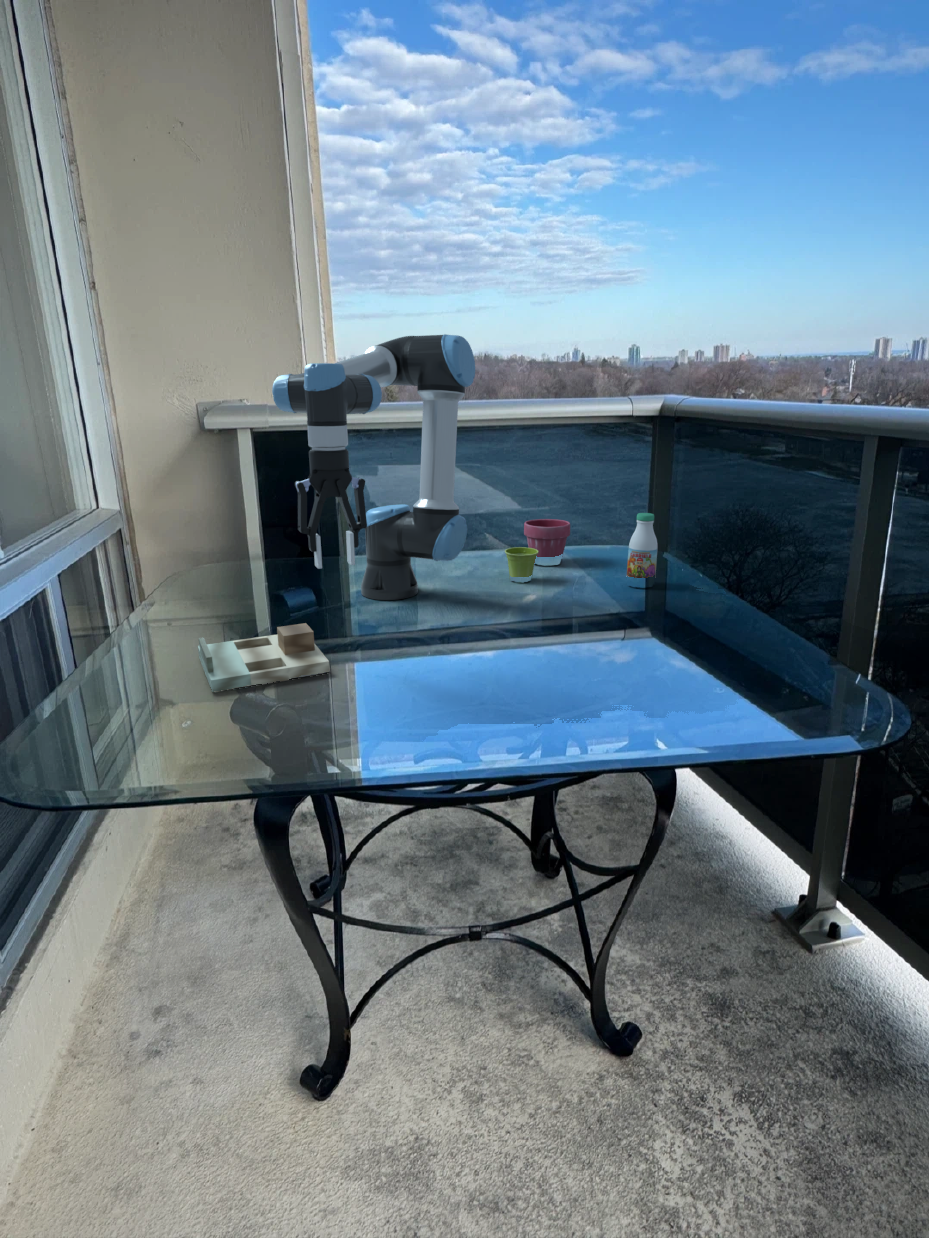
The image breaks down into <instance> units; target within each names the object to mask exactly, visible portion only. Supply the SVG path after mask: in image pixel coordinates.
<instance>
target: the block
mask: <svg viewBox="0 0 929 1238" xmlns="http://www.w3.org/2000/svg"><path fill="white" fill-rule="evenodd" d="M276 633H277V634H278V646H279V647H280V649H281V650H282V651H283V653H284V654H285V655H289V654H295V653H301V652H308V651H314V650H315V647H314V644H315V635H314V630H313V629H312V628H311V627H310V626H309V625H308V624H307V623H306V622H305V623H298V624H289V625H284V626H283V625H282V626H277V627H276ZM277 634H276V635H277Z"/></svg>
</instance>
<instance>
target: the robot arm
mask: <svg viewBox="0 0 929 1238" xmlns="http://www.w3.org/2000/svg"><path fill="white" fill-rule="evenodd" d="M475 362H476V361H475V356H474V352H473V350H472V347H471V344H470V343H469V341H468V340H467V339H466V338H465V337H464V336H461V335H457V334H456V335H455V334H446V333H444V334H433V335H432V334H431V335H430V334H429V335H405V336H401V337H397V338H394V339H391V340H387V341H385V342H382V343H378V344H377V345H373V346H370V347H369V348H368V349H366V350H365V352H364V353H362V354H360V355H357V356H354V357H353V356H352V357H350V358H347V359H343V360H341V361H337V362H333V363H328V362H327V363H326V362H324V363H322V362H321V363H320V362H319V363H313V362H312V363H307V364H306V365H305V367H304V371H303V372H302V373H300V374H299V373H297V374H296V373H295V374H293V373H288V374H282V375H278V376H277V377H276V379H275V380H274V381H273V384H272V390H271V391H272V392H271V393H272V394H271V395H272V398H273V402H274V404H275V406H276V407H277V408H278V409H279V410H280V411H282V412H287V413H293V414H297V413H300V414H301V413H306V425H307V441H308V444H307V445H308V447H309V448H311V449H310V450H309V451H308V458H309V460H308V461H309V462H308V463H309V475H308V476H307V479H306V478H305V479H304V480H300V481H299V480H296V481H295V482H294V487H295V489H296V491H297V530H298V531H299V532H300V533H301V534H303V535H307V538H308V539H307V541H308V549H309V551H311V552H312V553H313V556H314V566H315V567H316V568H317V569H318V570H320V569H323V559H322V546H321V545H322V544H321V535H319V534H318V533H317V531H318V529H319V528H318V527H319V524H320V521H321V517H322V513H323V512H322V511H323V508H324V504H325V502H326V500H327V499H328V498H331V497H335V498H337V499H338V501H339V503H340V506H341V508H342V511H343V514H344V517H345V520H346V523H347V526H348V528H349V530H346V531H345V540H346V557H347V558H346V559H347V563H348V565H350V566H355V565H356V560H355V549H356V548H359V545H360V544H359V543H360V542H359V532H361V530H362V529H364V531H365V532H364V534H365V535H364V537H365V554H366V567H365V571H364V574H363V577H362V580H361V585H360V593H361V595H362V596H363V597H365V598H367V599H371V600H379V601H395V600H396V601H397V600H403V599H408V598H411V597H414V596H416V595H417V594H418V593H419V584H418V581H417V578H416V575H415V572H414V568H413V566H412V559H411V558H416V559H421V560H422V559H423V560H424V559H425V560H432V561H436V562H438V561H442V562H445V561H446V562H450V561H453V560H455V559H456V558H457V557H458V556H459V555H460V553H462V551H463V548H464V546H465V544H466V539H467V534H468V524H467V520H466V518H465V517H464V516H462V515H461V514H460V506H459V505H457V503H456V502H455V501H454V500H455V499H454V497H455V496H454V494H455V478H456V475H455V473H456V472H455V471H456V458H457V457H456V456H457V455H456V454H457V453H456V452H457V436H458V435H457V433H458V414H459V413H458V411H459V402H460V401H461V400H462V399H463V398H464V397H465V395H466V388H467V387H470V386H472V384H473V383H474V379H475V376H476V363H475ZM389 386H411V387H412V386H413V387H416V388H417V391H416V392H417V395H419V397H420V398H421V399H422V418H421V419H422V422H421V423H422V424H421V448H420V449H421V450H420V452H421V454H420V472H419V473H420V476H419V499H418V500H416V502H415V503H414V504H413V506H412V511H411V507H410V505H409V504H404V503H403V504H390V505H384V506H378V507H373V508H370V509H369V510H367V509H366V503H365V495H364V489H365V486H366V480H365V479H364V478H361V477H354V476H353V475H352V474H351V471H350V458H349V457H350V455H349V450H348V449H347V448H346V447H347V446H349V435H348V420H347V418H348V417H347V416H348V415H361V414H362V415H365V414H367V413H371V412H374V411H376V409H378V407H379V406H380V404H381V402H382V399H383V398H382V397H383V393H382V392H383V391H382V388H385V387H389ZM350 484H351V486H352V488H353V494H354V503H355V511H356V512H355V513H356V518H355V515H354V512H353V509H352V506H351V503H350V501H349V497H348V494H347V489H348V487H349V485H350ZM310 486H311V487H312V488H313V490H314V491H315V494H314V501H313V505H312V509H311V512H310V513H311V514H310V518H309V521H308V495H307V494H308V493H307V492H309V487H310ZM366 510H367V511H366Z"/></svg>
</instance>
